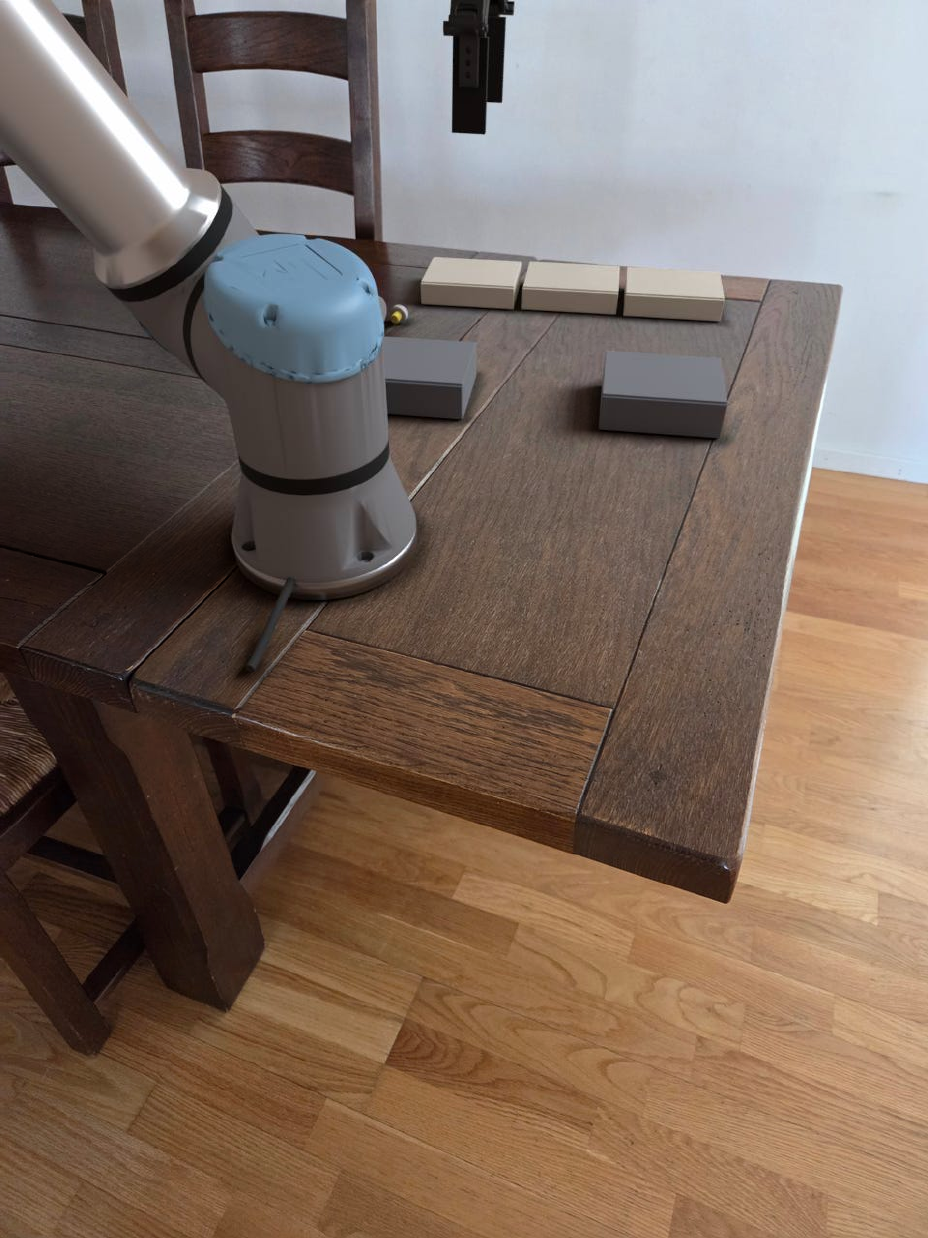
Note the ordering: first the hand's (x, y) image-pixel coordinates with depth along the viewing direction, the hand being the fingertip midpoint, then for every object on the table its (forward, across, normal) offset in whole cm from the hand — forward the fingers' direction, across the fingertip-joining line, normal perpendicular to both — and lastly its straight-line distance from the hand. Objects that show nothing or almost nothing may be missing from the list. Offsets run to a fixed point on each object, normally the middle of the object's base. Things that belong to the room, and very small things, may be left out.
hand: (478, 116), depth 75 cm
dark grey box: (+26, 0, -20) cm, 33 cm away
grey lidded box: (+27, 0, +6) cm, 27 cm away
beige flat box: (+26, +29, -10) cm, 40 cm away
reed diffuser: (+27, +21, +21) cm, 40 cm away
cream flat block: (+26, +30, +4) cm, 39 cm away
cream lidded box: (+26, +29, -22) cm, 45 cm away
